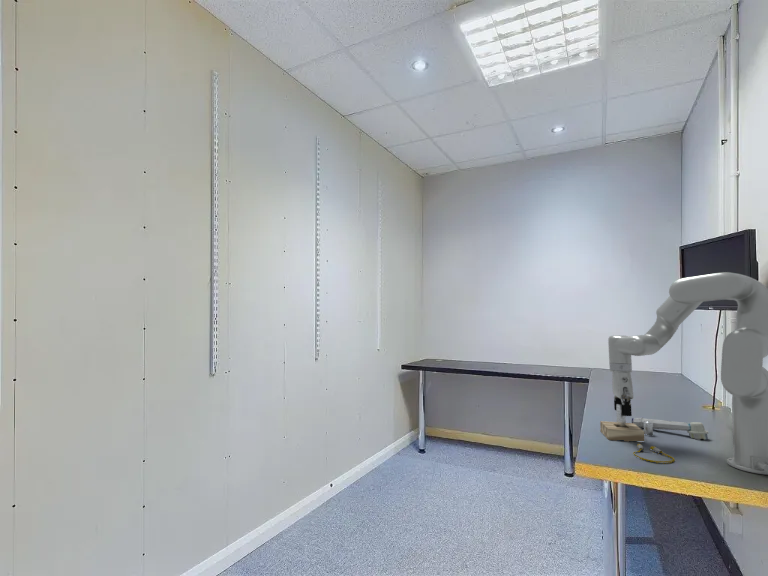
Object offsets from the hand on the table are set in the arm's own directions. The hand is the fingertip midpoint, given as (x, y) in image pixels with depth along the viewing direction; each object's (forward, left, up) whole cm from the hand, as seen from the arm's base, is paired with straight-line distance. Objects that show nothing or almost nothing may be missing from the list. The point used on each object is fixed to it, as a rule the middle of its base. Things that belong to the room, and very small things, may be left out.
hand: (622, 413), depth 161 cm
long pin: (+1, +1, -9) cm, 9 cm away
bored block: (0, +1, -9) cm, 9 cm away
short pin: (+6, -10, -9) cm, 15 cm away
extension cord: (-21, -3, -10) cm, 23 cm away
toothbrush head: (+12, -19, -10) cm, 25 cm away
